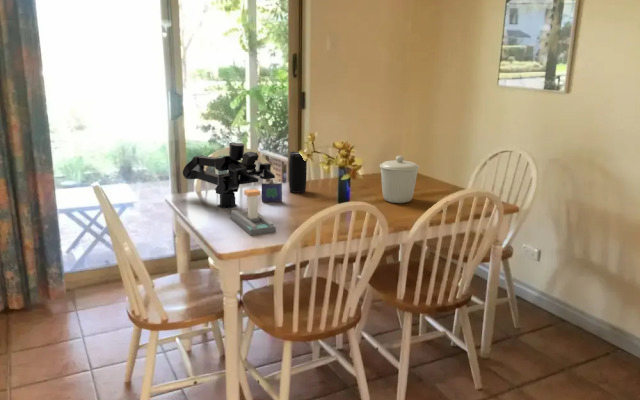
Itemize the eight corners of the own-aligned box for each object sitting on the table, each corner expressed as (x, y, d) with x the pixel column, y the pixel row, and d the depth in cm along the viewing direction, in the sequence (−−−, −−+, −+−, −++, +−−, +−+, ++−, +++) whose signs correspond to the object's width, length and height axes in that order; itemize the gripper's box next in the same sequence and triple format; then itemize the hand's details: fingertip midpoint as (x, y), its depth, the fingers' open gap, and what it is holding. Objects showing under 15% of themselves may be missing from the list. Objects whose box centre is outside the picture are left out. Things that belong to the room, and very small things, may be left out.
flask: (282, 201, 248) (281, 178, 245) (282, 202, 245) (282, 179, 242) (261, 201, 247) (261, 178, 244) (261, 203, 244) (261, 179, 241)
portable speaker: (306, 189, 269) (306, 150, 264) (306, 194, 260) (306, 154, 255) (289, 189, 269) (289, 150, 264) (288, 194, 260) (288, 153, 255)
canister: (416, 207, 241) (419, 160, 235) (376, 204, 244) (377, 158, 239) (417, 197, 258) (420, 153, 252) (379, 194, 261) (381, 151, 256)
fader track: (229, 218, 220) (229, 210, 219) (252, 215, 225) (252, 207, 224) (250, 235, 200) (250, 226, 199) (275, 231, 204) (275, 223, 203)
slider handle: (244, 219, 212) (243, 190, 209) (256, 217, 214) (255, 188, 211) (248, 222, 208) (248, 192, 205) (261, 221, 210) (260, 191, 207)
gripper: (224, 153, 218) (250, 162, 209) (258, 147, 232) (284, 156, 222) (223, 179, 222) (248, 189, 212) (256, 172, 235) (282, 182, 226)
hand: (266, 178), depth 218 cm, fingers open, 9 cm apart
